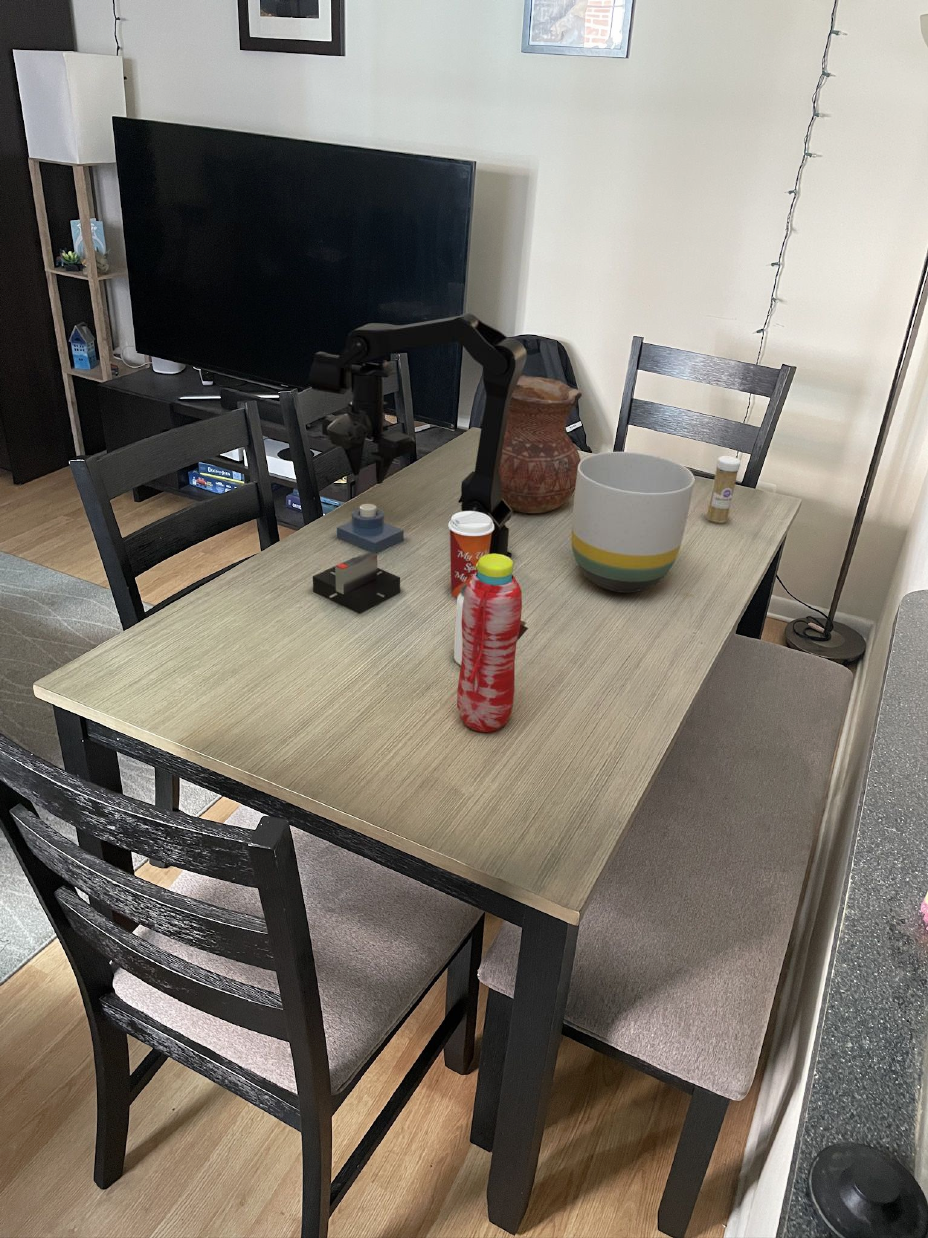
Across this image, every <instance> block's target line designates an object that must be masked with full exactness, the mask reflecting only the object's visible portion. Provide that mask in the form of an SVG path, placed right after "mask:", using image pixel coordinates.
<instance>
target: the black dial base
mask: <svg viewBox="0 0 928 1238" xmlns="http://www.w3.org/2000/svg"><path fill="white" fill-rule="evenodd" d="M353 558H354V557H352V558H349V559H348V560H345V561H343V562H342V563H344V562H347V561H349V560H351V559H353ZM337 565H338V564H336V565H335V566H337ZM335 566H331V567H330V568H328V569H326V570H323V571H321V572H319V573H316V574H314V575H312V592H313V593H315V594H317V595H319V596H321V597H324V598H326V599H327V600H329V601H331V602H334V603H336V604H338V605H339V606H342V607H344V608H346V609H349V610H350V611H353V612H354V613H357V614H360V615H361V614H362V613H364V612H366V611H368V610H370V609H371V608H374V607H375V606H377V605H379V604H381V603H383V602H385V601H387V600H389V599H391V598H393V597H395V596H396V595H398V594H401V577H400V576H399V575H396V574H393V573H391V572H389V571H386V570H384V569H381V568H380V567H377V578H376V579H374V580H372V581H370V582H368V583H366V584H364V585H362V586H360V587H358V588H356V589H353V590H351V591H349V592H347V593H345V594H342V593H340V592H337V591H336V577H335Z"/></svg>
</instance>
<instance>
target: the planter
mask: <svg viewBox="0 0 928 1238" xmlns="http://www.w3.org/2000/svg"><path fill="white" fill-rule="evenodd" d="M694 485H695V476H694V474H693V471H691V470H690V469H688V468H687V467H686V466H684V465H683V464H680V463H678V462H676V461H674V460H671V459H669V458H665V457H662V456H658V455H654V454H648V453H642V452H634V451H632V452H631V451H607V452H606V451H605V452H598V453H594V454H591V455H589V456H585V457H584V458H582V459H581V461H580V463H579V465H578V470H577V478H576V487H575V491H574V496H573V498H574V499H573V508H572V521H571V548H572V555H573V558H574V559H575V560H574V561H575V562H576V565H577V567H578V568H579V570H580V571H581V572H582V573H583V575H584V576H585V577H586V578H587V579H588V580H589V581H591V582H592V583H594V584H595V585H597V586H598V587H600V588H603V589H605V590H609V591H612V592H617V593H635V592H640V591H644V590H646V589H648V588H650V587H653V586H654V585H656V584H657V583H659V582H661V581H662V580H664V578H665V577H666V576H667V575H668V573H669V572H670V571H671V570H672V567H673V565H674V564H675V562H676V560H677V557H678V556H679V552H680V549H681V545H682V541H683V537H684V533H685V529H686V525H687V520H688V516H689V511H690V506H691V501H692V497H693V491H694V487H695V486H694Z"/></svg>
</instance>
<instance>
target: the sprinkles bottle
mask: <svg viewBox="0 0 928 1238" xmlns="http://www.w3.org/2000/svg"><path fill="white" fill-rule="evenodd" d="M715 465H716V469H715V475H714V479H713V482H712V487H711V492H710V496H709V497H710V498H709V501H708V508H707V513H706V516H705V518H706V520H708V521H709V522H711V523H715V524H725V523H727V522H728V521H729V513H730V509H731V506H732V501H733V497H734V493H735V492H734V491H735V486H736V482H737V477H738V473H739V471H740V468H741V460H740V459H739V458H737V457H734V456H730V455H722V456H719V457H718V458H717V461H716V464H715Z"/></svg>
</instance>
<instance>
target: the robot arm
mask: <svg viewBox="0 0 928 1238" xmlns="http://www.w3.org/2000/svg"><path fill="white" fill-rule="evenodd" d="M456 342H457V343H459V344H460V345H461V346H462V347H463V348H464V350H466V352H467V353H468V354H469V355H470V357H471V358H472V359H473V360H474V361H475V362H476V363H478V364H479V365H480V366H482V383H483V387H484V391H485V402H484V409H483V414H482V421H481V428H480V433H479V440H478V447H477V448H478V449H477V453H476V459H475V460H476V461H475V467H474V471H473V470H472V471H471V472H470V473H469V474H468V475H467V476H466V477H465V478H464V479H463V480H462V481H461V485H460V490H461V494H460V498H459V499H458V504H461V505H460V510H461V512H463V511H476V512H480V513H484V514H486V515H488V516H489V517H490V518H491V519H492V521H493V524H494V530H493V531H492V535H491V542H490V550H489V554H501V555H504V556H507V557H509V558H510V557H512V554H513V553H512V552H511V551H509V550H508V547H509V536H510V535H509V533H510V528H509V527H507V525H506V524H507V522H509V520H510V519H511V517H512V515H513V513H514V511H513V510H512V509H511V508H510V507H509V505H508V504H507V503H506V502H505V501H504V499H503V498H502V482H501V477H500V473H499V467H500V461H501V456H502V450H503V444H504V438H505V432H506V426H507V420H508V414H509V408H510V402H511V396H512V394H513V391H514V389H515V387H516V385H517V383H518V380H519V378H520V376H522V373H523V371H524V367H525V365H526V362H527V358H528V357H527V354H528V353H527V349H526V348H525V346H524V345H523V343H521V341H520V340H518V339H515V338H513V337H508V336H506V335H505V334H504V333H503V332H502V331H500V330H498V329H496V328H494V327H492V326H490V325H489V324H487V323H485V322H483V321H482V320H480V319H479V318H478V317H476V315H474V314H472V313H468V312H467V313H463V314H461V315H456V316H451V317H445V318H439V319H432V320H426V321H421V322H416V323H415V322H414V323H409V324H402V325H397V324H391V323H377V322H375V323H374V322H371V323H367V324H365V325H363V326H360V327H358V328H356V329H353V330H351V331H350V332H349V333H348V335H347V337H346V341H345V347H344V349H343V350H342V351H341V353H340V354H338V355H337V354H332V353H328V352H325V351H318V352H316V353H314V354H313V356H314V360H313V362H312V363H311V367H310V371H309V374H308V381H309V386H310V388H311V389H312V390H313V391H317V392H323V393H324V392H325V393H331V394H337V395H345V394H346V393H347V392H348V391H349V390H351V401H350V402H347V403H346V406H345V413H344V414H343V413H342V414H338V415H333V416H331V417H327V418H325V419H324V420H323V422H322V424H321V435H323V436H327V437H329V441H330V443H331V445H334V446H338V447H341V448H342V449H343V451H344V453H345V455H346V458H347V461H348V464H349V466H350V469H351V471H352V474H353V475H354V476H359V475H360V472H361V469H362V460H363V454H364V446H365V441H368V442H371V443H373V444H377V450H374V451H371V452H370V454H371V455H372V457H373V458H374V459H375V460H374V461H375V481H376V484H377V485H380V484H383V482H384V481H385V478H386V477H387V474H388V472H389V470H390V468H391V466H392V464H393V462H394V460H395V459H397V458H399V457H404V456H406V455H408V454H411V453H414V452H415V451H416V440H415V438H414V437H413V436H412V435H408V434H406V433H403V432H399V431H396V432H393V433H390V434H387V435H386V434H384V433H385V432H387V431H388V430H389V425H388V424H386V423H384V411H385V410H388V409H389V403H388V402H387V401H384V379H385V378H386V379H387V378H389V377H390V376H393V374H395V373H396V370H395V368H393V366H391V365H390V364H389V363H388V361H387V360H386V359H385V360H382V361H381V362H379V363H374V362H372V361H376V360H378V359H381V358H383V357H385V356H388V355H390V354H393V353H395V352H398V351H404V350H410V349H416V348H423V347H428V346H429V347H430V346H436V345H442V344H449V343H456ZM356 363H357V364H361V365H356Z"/></svg>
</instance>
